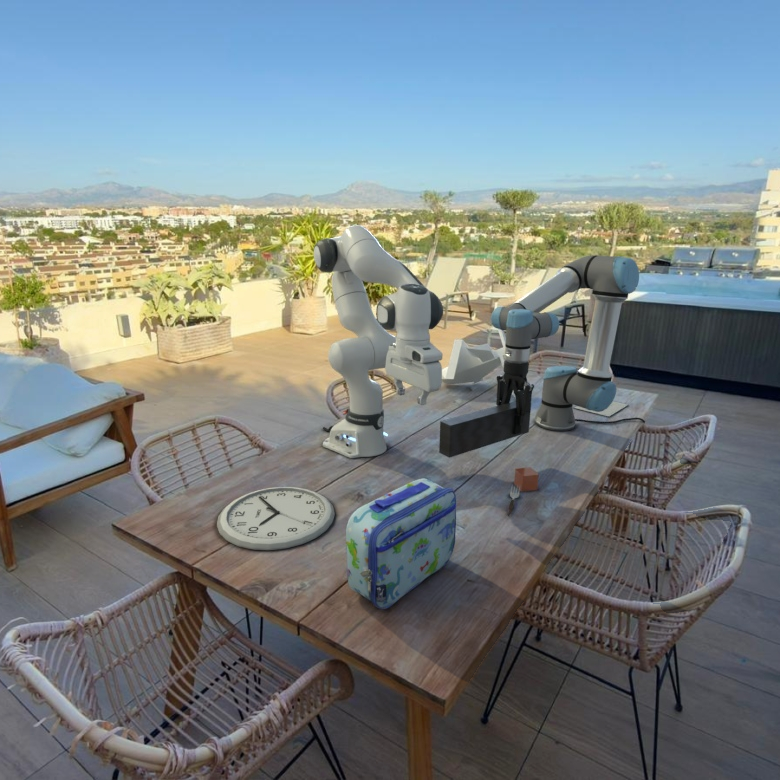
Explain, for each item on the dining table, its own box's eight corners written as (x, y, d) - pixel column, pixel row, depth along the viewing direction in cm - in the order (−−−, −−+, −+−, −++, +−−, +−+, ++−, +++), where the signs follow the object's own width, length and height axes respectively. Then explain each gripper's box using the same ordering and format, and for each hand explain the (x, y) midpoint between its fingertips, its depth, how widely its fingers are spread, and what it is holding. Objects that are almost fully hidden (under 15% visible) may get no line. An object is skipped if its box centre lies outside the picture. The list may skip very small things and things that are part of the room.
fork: (503, 516, 138) (503, 510, 138) (511, 489, 153) (511, 483, 152) (513, 518, 137) (513, 511, 137) (520, 491, 152) (520, 485, 151)
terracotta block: (529, 482, 158) (530, 467, 156) (537, 490, 153) (538, 474, 152) (513, 483, 157) (515, 468, 155) (521, 491, 152) (523, 476, 151)
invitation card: (608, 416, 214) (573, 407, 224) (608, 416, 214) (573, 408, 224) (628, 404, 229) (594, 396, 238) (628, 405, 229) (594, 397, 238)
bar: (518, 428, 173) (520, 399, 170) (528, 432, 170) (531, 403, 167) (439, 452, 155) (440, 420, 152) (449, 457, 151) (450, 425, 148)
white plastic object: (461, 429, 252) (437, 405, 227) (444, 352, 274) (420, 323, 250) (535, 404, 240) (518, 377, 215) (510, 326, 262) (492, 293, 237)
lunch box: (375, 622, 100) (376, 527, 94) (339, 595, 108) (338, 505, 101) (459, 565, 118) (465, 481, 112) (424, 545, 125) (427, 465, 119)
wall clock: (333, 542, 123) (202, 546, 121) (333, 547, 124) (203, 552, 121) (335, 482, 152) (229, 485, 149) (335, 487, 152) (230, 490, 150)
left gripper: (380, 342, 142) (379, 391, 146) (427, 358, 126) (425, 412, 130) (399, 340, 145) (397, 387, 149) (447, 355, 129) (444, 407, 133)
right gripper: (487, 356, 165) (482, 424, 173) (530, 368, 152) (523, 442, 159) (503, 353, 169) (499, 420, 177) (547, 364, 156) (540, 437, 163)
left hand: (410, 399), depth 140 cm, fingers open, 8 cm apart
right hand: (510, 430), depth 168 cm, fingers closed on bar, 4 cm apart
